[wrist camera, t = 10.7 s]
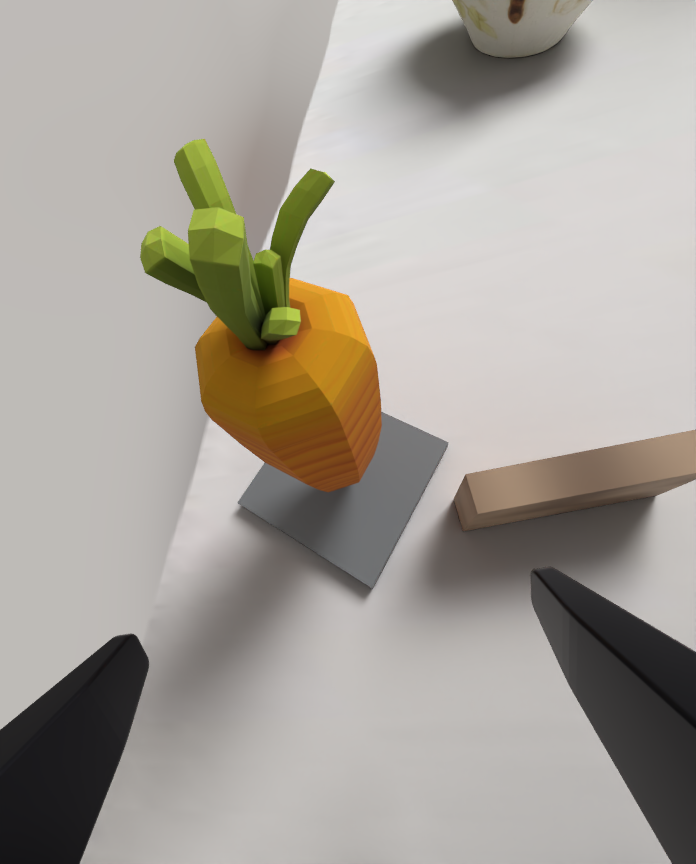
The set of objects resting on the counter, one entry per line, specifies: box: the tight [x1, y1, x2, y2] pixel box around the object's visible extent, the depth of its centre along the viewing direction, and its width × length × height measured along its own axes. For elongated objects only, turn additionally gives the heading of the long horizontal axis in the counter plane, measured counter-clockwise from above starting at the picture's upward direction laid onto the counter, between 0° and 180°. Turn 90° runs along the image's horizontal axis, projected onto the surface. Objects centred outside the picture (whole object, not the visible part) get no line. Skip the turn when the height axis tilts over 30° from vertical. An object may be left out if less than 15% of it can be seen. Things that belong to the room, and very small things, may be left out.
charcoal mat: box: [238, 412, 448, 589], centre depth 19 cm, size 8×8×1 cm
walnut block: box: [454, 430, 696, 531], centre depth 16 cm, size 9×2×4 cm, turn 99°
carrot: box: [140, 139, 382, 492], centre depth 12 cm, size 5×5×15 cm
